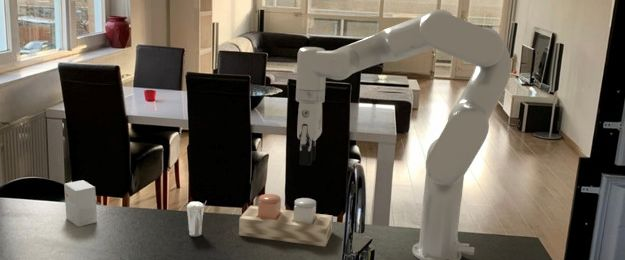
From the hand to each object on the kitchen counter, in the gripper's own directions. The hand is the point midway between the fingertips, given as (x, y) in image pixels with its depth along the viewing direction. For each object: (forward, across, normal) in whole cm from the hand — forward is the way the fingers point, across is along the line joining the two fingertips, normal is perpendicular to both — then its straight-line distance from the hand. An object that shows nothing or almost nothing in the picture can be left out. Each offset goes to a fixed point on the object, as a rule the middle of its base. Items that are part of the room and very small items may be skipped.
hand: (307, 161), depth 164 cm
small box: (+22, -9, +62) cm, 66 cm away
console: (+21, 0, +5) cm, 22 cm away
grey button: (+17, 0, 0) cm, 17 cm away
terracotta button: (+17, 0, +10) cm, 20 cm away
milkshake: (+22, -8, +28) cm, 36 cm away
